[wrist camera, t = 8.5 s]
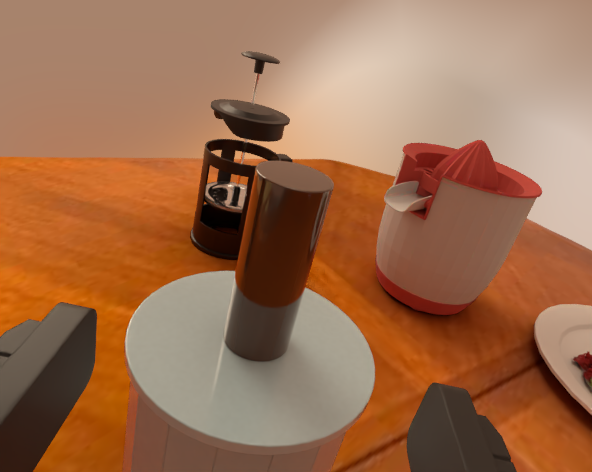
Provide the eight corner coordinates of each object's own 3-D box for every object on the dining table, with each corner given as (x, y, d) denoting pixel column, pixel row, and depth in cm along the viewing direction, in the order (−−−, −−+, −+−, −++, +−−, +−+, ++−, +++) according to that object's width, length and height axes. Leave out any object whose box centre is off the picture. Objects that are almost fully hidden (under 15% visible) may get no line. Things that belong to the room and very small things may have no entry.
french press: (197, 262, 53) (230, 54, 42) (176, 224, 60) (199, 37, 49) (286, 256, 59) (333, 72, 48) (257, 222, 66) (293, 55, 55)
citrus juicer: (327, 260, 60) (372, 110, 51) (425, 254, 69) (478, 124, 60) (399, 339, 48) (473, 161, 40) (506, 320, 57) (587, 171, 48)
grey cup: (198, 662, 22) (243, 502, 16) (84, 482, 28) (89, 322, 23) (341, 509, 30) (403, 370, 25) (229, 397, 36) (259, 265, 31)
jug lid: (239, 532, 16) (307, 295, 11) (74, 329, 23) (77, 130, 18) (412, 380, 25) (487, 214, 21) (258, 267, 32) (290, 124, 27)
